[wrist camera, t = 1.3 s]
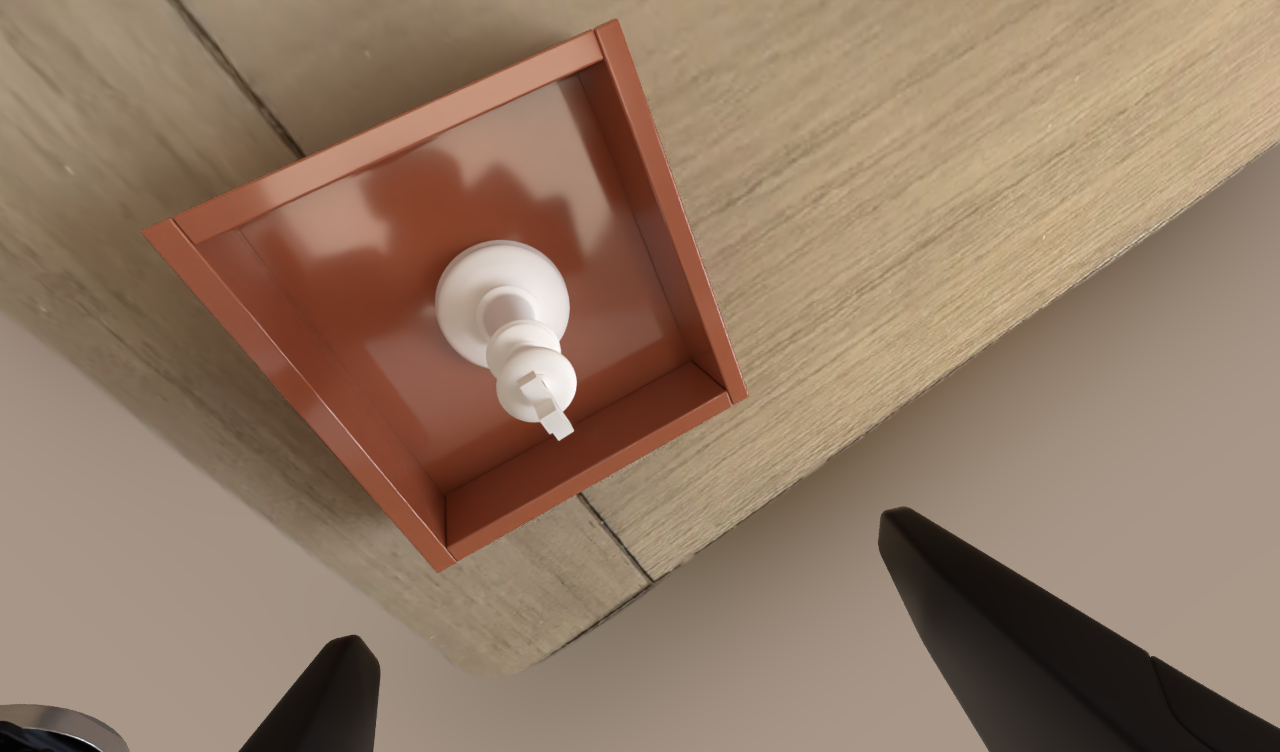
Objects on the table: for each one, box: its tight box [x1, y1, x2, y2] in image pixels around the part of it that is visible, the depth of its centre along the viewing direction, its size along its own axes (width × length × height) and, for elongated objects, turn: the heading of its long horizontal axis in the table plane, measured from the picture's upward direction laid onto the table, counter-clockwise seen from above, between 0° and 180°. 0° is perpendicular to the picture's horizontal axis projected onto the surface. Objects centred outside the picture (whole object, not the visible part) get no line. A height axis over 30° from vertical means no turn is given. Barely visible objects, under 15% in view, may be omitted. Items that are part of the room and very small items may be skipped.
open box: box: [141, 19, 749, 573], centre depth 19 cm, size 14×14×4 cm
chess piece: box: [435, 240, 577, 441], centre depth 16 cm, size 5×5×10 cm
